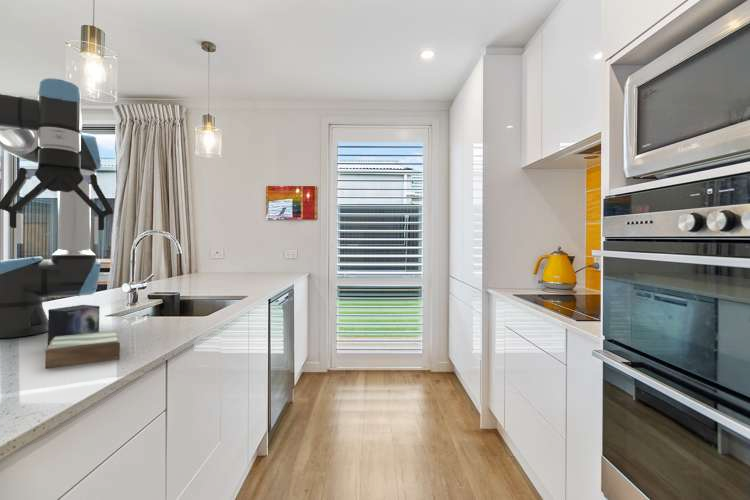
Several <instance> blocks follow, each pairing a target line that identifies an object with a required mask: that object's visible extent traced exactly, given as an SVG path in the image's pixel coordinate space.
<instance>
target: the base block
mask: <svg viewBox="0 0 750 500" xmlns="http://www.w3.org/2000/svg"><path fill="white" fill-rule="evenodd" d="M120 343H121V341H120V336H119V331H118V330H110V331H109V330H108V331H101V332H100V331H99V332H97V333H86V334H76V335H65V336H55V337H53V338H52V340H51V342H50V344H49V345H48V344H47V345H48V347H47V346H46V349H45V350H44V351H45V356H44V357H45V358H44V359H45V361H44V362H45V365H44V368H45V369H53V368H58V367H59V368H60V367H61V368H62V367H68V366H75V365H82V364H83V365H84V364H91V363H98V362H105V361H113V360H120V359H121V356H120V353H121V351H120V350H121V346H120V345H121V344H120Z"/></svg>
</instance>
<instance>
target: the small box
mask: <svg viewBox="0 0 750 500" xmlns="http://www.w3.org/2000/svg"><path fill="white" fill-rule="evenodd" d="M100 309H101V308H100V305H93V304H92V305H91V304H89V305H88V304H80V305H79V304H78V305H71V306H64V307H56V308H52V309H48V311H47V312H48V315H47V316H48V317H47V319H48V331H47V345H46V348H47V347H48V345H49V344H50V342H51V340H52V338H53V337H55V336H65V335H76V334H86V333H97V332H100Z"/></svg>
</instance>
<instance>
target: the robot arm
mask: <svg viewBox="0 0 750 500" xmlns="http://www.w3.org/2000/svg"><path fill="white" fill-rule="evenodd" d="M37 95H38V98H30V97H25V96H18V95H14V94H9V93H8V94H7V93H1V92H0V148H2V149H3V150H4V151H6V152H7V153H8V154H11V155H12V156H15V157H17V158H20V159H22V160H25V161H28V162H30V163H33V164H37V169H36V170H31V169H28V168H27V169H26V168H25V167H19V168H18V174H17V177H16V179H15V180H14V181H13V183H12V185H11V186H10V188H9V189H8V190H7V192H6V193H5V195H4V196H3V197H2V199H1V200H0V210H3V211H6V212H7V213H8V214H9V226H10V228H11V229H15V231H16V232H15V233H16V236H15V240H16V241H15V243H16V245H17V244H20V245H21V244H22V245H23V244H24V213H20V211H22V210H23V209H24V208H25V207H26V206H28V205H29V204H30V203H31V202H32V201H34V200H35V199H36V198H37V197H38V196H40V194H42V193H44V192H45V191H46V190H48V191H50V192H57V250H56V251H54V253H52V254H51V255H50V256H51V257H50V258H51V259H50V260H44V258H43V256H41V255H40V256H31V257H22V258H21V257H20V258H14V259H13V258H10V259H3V260H0V339H5V338H7V339H8V338H18V337H24V336H25V337H26V336H32V335H38V334H43V333H46V332H48V317H47V316H48V315H47V314H46V312H45V310H44V307H43V298H62V297H63V298H65V297H81V296H91V295H93V294H95V293H96V291H97V289H98V282H99V278H100V277H99V276H100V273H101V272H100V270H101V265H102V261H101V260H100V259H97V254H96V253H94V252H93V251H92V250H91V240H92V239H91V236H92V235H91V222H92V221H91V219H92V218H91V217H92V216H91V214H92V213H91V212H92V211H93V212H94V213H95V214H96V215H97V216H96V215H95V216H94V217H93V220H94V221H93V222H94V223H93V225H94V226H93V227H94V228H93V231H94V232H93V236H94V237H93V239H94V240H93V242H94V243H93V245H99V231H104V229H105V218H106V217H107V216H111V215H113V214H114V209H113V208H112V206H111V205H110V203H109V202H108V200H107V197H106V196H105V194H104V193H103V191H102V189H101V187H100V185H99V184H98V178H97V171H100V170H102V161H101V154H100V149H99V147H100V146H99V141H98V139H97V137H96V135H94V134H92V133H86V132H82V131H83V126H84V120H83V118H82V97H81V89H80V87H78V85H76V84H74V83H73V82H70V81H67V80H64V79H60V78H52V77H51V78H50V77H45V78H43V79H41V80H40V81H39V82H38V91H37ZM32 177H35V178H37V180H39V183H37V185H36V186H34V187H33V188H32V189H31V190H30V191H29V192H27V194H25V195H23V197H21V198H20V199H19V200H18V201H17V202H16V203H14V204H13V205H12V206H11V204H12V203H13V201H14V200H15V198H16V197H17V196H18V194H19V192H21V190H22V189H23V187H24V185H25V184H26V182H27V181H28V180H31V179H32ZM91 187H92V188H91ZM92 189H93V191H94V192H95V194H96V196H97V198H98V200H99V202H100V203H101V204H102V205H101V206H103V208H104V210H102V209H101V208H100V207H99V206H98V205H97V204H96V203H95V202H94V201H93V200H92V199H91V198H92V196H91V195H92V193H91V192H92V191H91V190H92ZM91 210H92V211H91Z"/></svg>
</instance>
